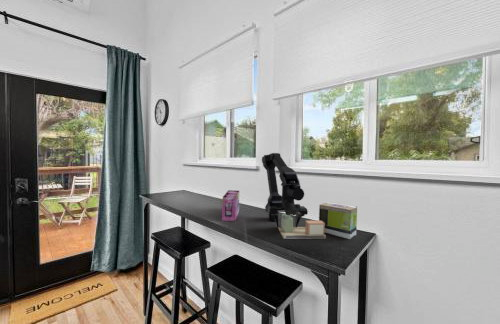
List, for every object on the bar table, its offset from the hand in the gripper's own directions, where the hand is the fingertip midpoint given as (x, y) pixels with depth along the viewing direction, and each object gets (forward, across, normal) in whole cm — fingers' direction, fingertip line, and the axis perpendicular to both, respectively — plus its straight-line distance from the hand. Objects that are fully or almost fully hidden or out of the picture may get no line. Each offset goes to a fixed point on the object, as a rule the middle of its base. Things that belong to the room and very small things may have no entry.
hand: (286, 227), depth 109 cm
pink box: (+1, +11, -8) cm, 14 cm away
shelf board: (+3, +6, -4) cm, 7 cm away
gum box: (+3, -28, +29) cm, 40 cm away
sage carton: (+1, 0, 0) cm, 1 cm away
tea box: (+3, +24, -4) cm, 24 cm away
